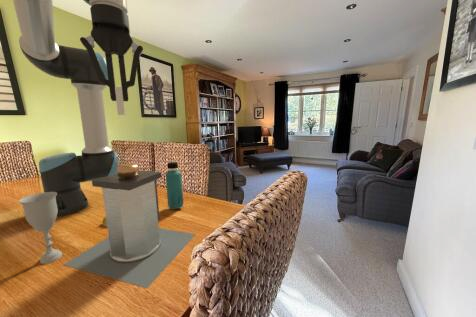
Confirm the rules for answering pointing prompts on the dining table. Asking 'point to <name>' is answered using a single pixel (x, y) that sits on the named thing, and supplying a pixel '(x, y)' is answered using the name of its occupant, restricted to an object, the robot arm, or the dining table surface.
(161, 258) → the slate mat
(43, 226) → the chalice
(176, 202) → the beverage bottle
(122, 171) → the plunger
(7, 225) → the dining table surface
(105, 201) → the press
